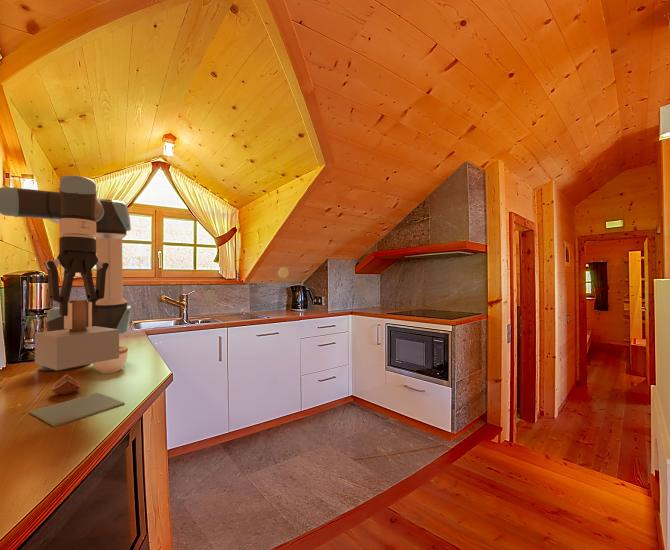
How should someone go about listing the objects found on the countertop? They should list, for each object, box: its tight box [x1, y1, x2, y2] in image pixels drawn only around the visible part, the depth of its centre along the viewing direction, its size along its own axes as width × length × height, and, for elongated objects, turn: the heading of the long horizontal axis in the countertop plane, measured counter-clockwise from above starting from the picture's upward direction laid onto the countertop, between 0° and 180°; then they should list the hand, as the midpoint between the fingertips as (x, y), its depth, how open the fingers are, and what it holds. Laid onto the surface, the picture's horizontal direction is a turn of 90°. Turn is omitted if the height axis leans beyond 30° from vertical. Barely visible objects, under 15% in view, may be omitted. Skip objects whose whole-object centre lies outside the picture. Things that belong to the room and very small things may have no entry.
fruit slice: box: [50, 373, 82, 395], centre depth 94 cm, size 8×7×5 cm
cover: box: [34, 299, 120, 371], centre depth 83 cm, size 13×13×16 cm
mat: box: [28, 392, 126, 428], centre depth 83 cm, size 15×15×1 cm
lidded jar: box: [92, 346, 129, 374], centre depth 117 cm, size 11×11×9 cm
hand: (78, 327), depth 83 cm, fingers closed on cover, 4 cm apart
